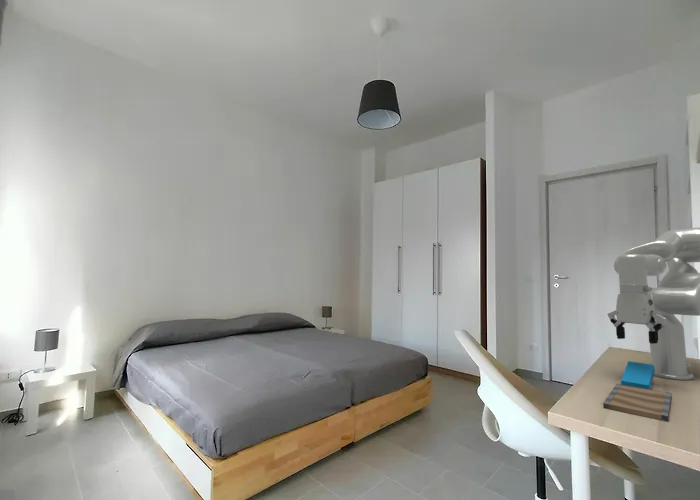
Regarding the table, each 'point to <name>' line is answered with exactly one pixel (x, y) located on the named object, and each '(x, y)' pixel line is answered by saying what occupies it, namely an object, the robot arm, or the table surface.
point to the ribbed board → (639, 402)
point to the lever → (638, 375)
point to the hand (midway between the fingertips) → (636, 340)
